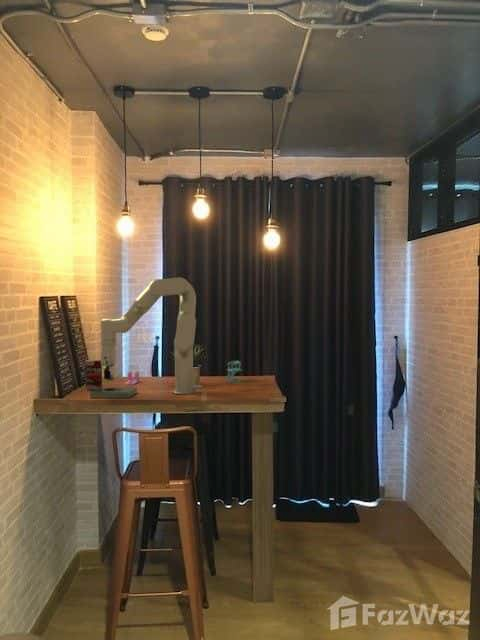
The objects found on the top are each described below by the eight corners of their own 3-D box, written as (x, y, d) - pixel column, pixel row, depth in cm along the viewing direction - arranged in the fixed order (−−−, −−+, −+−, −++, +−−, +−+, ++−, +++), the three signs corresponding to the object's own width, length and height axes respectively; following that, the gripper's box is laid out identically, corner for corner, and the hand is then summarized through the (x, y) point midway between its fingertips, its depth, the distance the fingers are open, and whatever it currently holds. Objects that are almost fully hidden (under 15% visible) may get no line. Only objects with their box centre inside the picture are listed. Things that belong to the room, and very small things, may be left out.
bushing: (115, 379, 267) (115, 365, 266) (112, 380, 262) (112, 367, 261) (106, 379, 267) (106, 365, 267) (102, 380, 262) (102, 366, 262)
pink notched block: (129, 382, 304) (129, 370, 304) (138, 382, 304) (138, 370, 304) (123, 386, 291) (123, 373, 291) (133, 386, 291) (133, 373, 291)
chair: (225, 380, 304) (224, 360, 303) (238, 379, 307) (237, 359, 307) (230, 382, 297) (230, 362, 296) (243, 381, 300) (243, 361, 300)
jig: (136, 392, 271) (136, 387, 270) (128, 398, 257) (128, 392, 257) (100, 392, 272) (99, 386, 272) (90, 398, 259) (89, 392, 258)
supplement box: (86, 390, 280) (85, 361, 279) (86, 388, 284) (85, 360, 283) (102, 389, 282) (101, 360, 281) (102, 387, 287) (101, 359, 286)
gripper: (107, 341, 272) (107, 375, 273) (95, 344, 255) (96, 380, 256) (121, 341, 271) (121, 375, 272) (110, 344, 254) (110, 380, 255)
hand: (109, 377), depth 264 cm, fingers closed on bushing, 5 cm apart
